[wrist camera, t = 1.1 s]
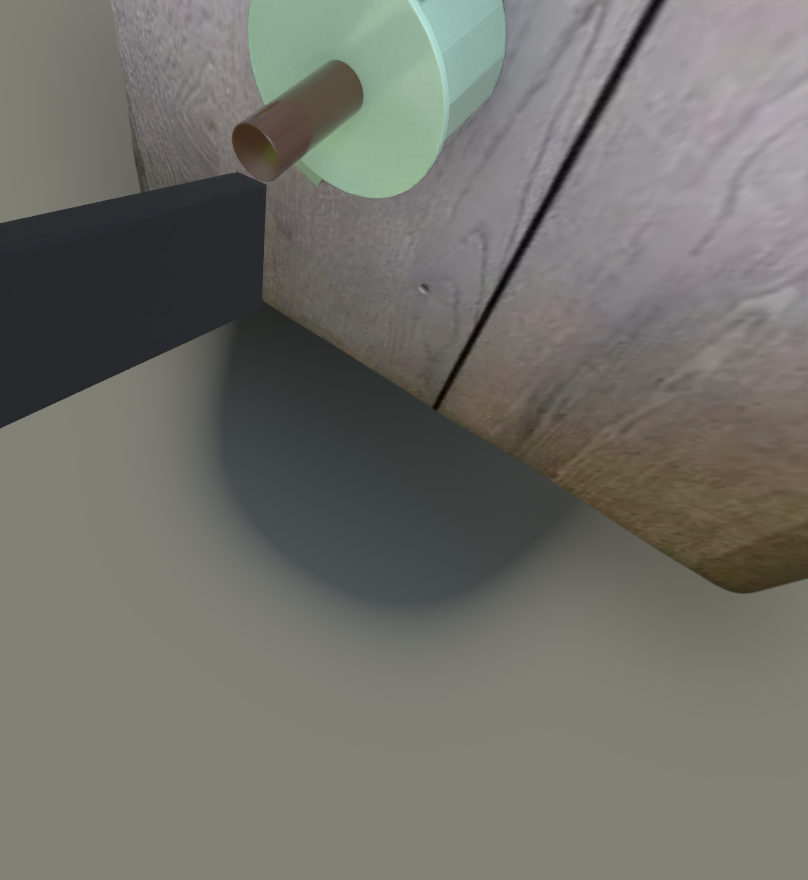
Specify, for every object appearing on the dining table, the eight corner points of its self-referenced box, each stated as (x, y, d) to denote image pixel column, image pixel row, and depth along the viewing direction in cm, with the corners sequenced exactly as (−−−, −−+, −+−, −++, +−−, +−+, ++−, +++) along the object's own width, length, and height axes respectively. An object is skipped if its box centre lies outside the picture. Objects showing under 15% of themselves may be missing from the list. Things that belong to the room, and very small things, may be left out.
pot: (301, 63, 45) (229, 112, 41) (417, -216, 30) (321, -184, 26) (419, 185, 48) (363, 243, 43) (580, -16, 33) (517, 43, 28)
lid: (237, 78, 39) (136, 142, 34) (304, -142, 28) (167, -89, 23) (385, 226, 42) (310, 304, 37) (501, 81, 31) (414, 167, 26)
